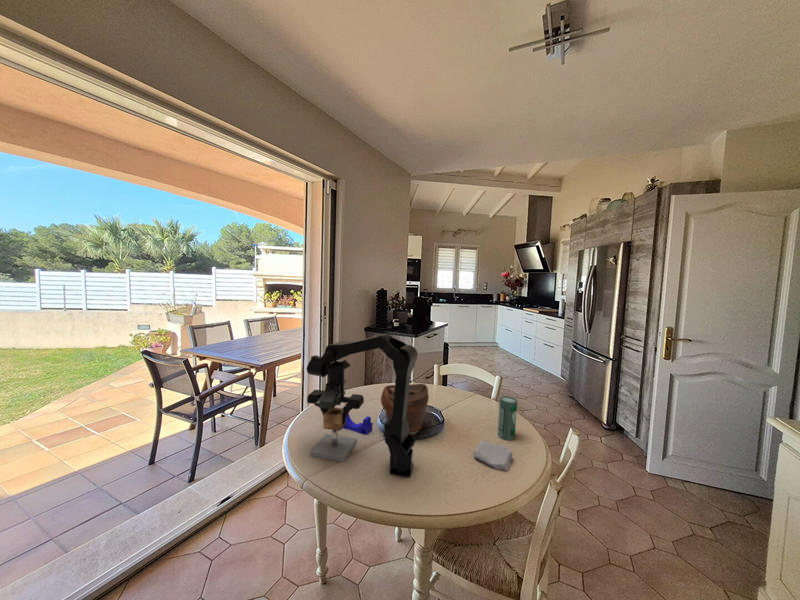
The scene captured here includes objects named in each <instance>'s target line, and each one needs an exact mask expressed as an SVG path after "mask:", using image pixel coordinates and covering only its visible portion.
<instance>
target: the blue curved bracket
mask: <svg viewBox="0 0 800 600" xmlns="http://www.w3.org/2000/svg"><path fill="white" fill-rule="evenodd" d="M371 418H372V417H371V416H366V417H365V418H363V420H362V422H359V423H355V422H354V421H353V419H351V416H350V413H349V414H348V417H347V421H346V424H345V425H344V426H343V428H342V429H346V430H349V431H352V432H356V433H359V434H362V435H365V436H366V435H368V434H369V433H370V432H372V430H373V426H374V425H373V422H371V421H372V419H371Z"/></svg>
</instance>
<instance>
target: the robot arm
mask: <svg viewBox="0 0 800 600" xmlns="http://www.w3.org/2000/svg"><path fill="white" fill-rule="evenodd" d="M377 349H380V350H382V352H383V353H384V355H385V356H387V357H388V359H390V360H392V366H393V372H394V373H395V382H394V385H395V391H394V401H393V412H392V418H391V419H390V420H389V421H388V422H386V423H385V424H384V428H383V429H384V433H383V437H382V438H384V443H385V444H386V445H387V448H388V451H389V469H390V471H389V474H390V475H396V476H401V477H402V476H403V477H408V478H410V477H412V471H413V467H414V463H413V456H414V455H413V454H414V449H413V447H414V446H415V444H416V439H415V438H414V435H413V436H412V435H411V434H410V432H409V424H408V421H407V418H406V414H407V405H408V395H409V385H411V384H410V382H411V375H412V373H413V370H414V368H415V365H416V362H417V359H418V351H417V349H416V348H415V346H413V345H412V344H411V345H410V344H407V343H405V342H404V341H402V340H401V339H400V340H399V339H398V338H394V337H393V336H391V335H390V334H389V333H382V334H380V335H376V336H372V337H368V338H363V339H359V340H356V341H347V340H346V341H337V342H334V343H332V344H328V345H327V346H326V347H325V350H324V353H323V354H322V356H319V355H315V354H314V355H312V356H310V360H309V362H308V363H307V366H306V372H307V374H309V375H311V376H315V377H322V378H325V377H326V378H327V380H326V381H327V383H325V388H324V390H322V389H321V390H320V389H314V390H312V391H311V392H310V393H309V394H307V397H306V403H307V404H313V405H314V406H315V407H318V408H319V409H320V411H321V413H322V416H323V415H324V413H325V412H326V411H327V410H328V409H334V407H335V408H336V406H340V405H341V404H342V403H343V404H344V406H343V407H341V408H342V409H343V424H345V422H346V419H347V417H348V414H349V415H350V411H352V410H359V409H360V408H361V407H362V405H363V404H364V401H365V398H364V395H362V394H356V393H352V394H351V396H345V395H346V390H345V384H346V383H347V382H346V381H347V380H346V379H345V377H346V376H345V374H346V373H345V370H346V369H348V368H350V367H351V364H350V363H349V362H348V361H347V359H344V360H342V361H340V360H341V359H343V358H346V357H348V356H350V355H353V354H358V353H362V352H363V353H364V352H367V351H372V350H377Z"/></svg>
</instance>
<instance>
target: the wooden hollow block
mask: <svg viewBox="0 0 800 600" xmlns="http://www.w3.org/2000/svg"><path fill="white" fill-rule="evenodd" d="M342 408H343V407H341V408H340V407H336V406H335V407H334V409H328V410H327V411H326V412H325V413H324V415H323V414H322V417H323V425H322V426H323V428H322V429H323V430H331V431H332V430H336V431H338V432H340V431H341V430H342V429H344V428H343V426H344V425H345V424H346V422H345V424H343V409H342ZM346 421H347V419H346Z"/></svg>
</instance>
